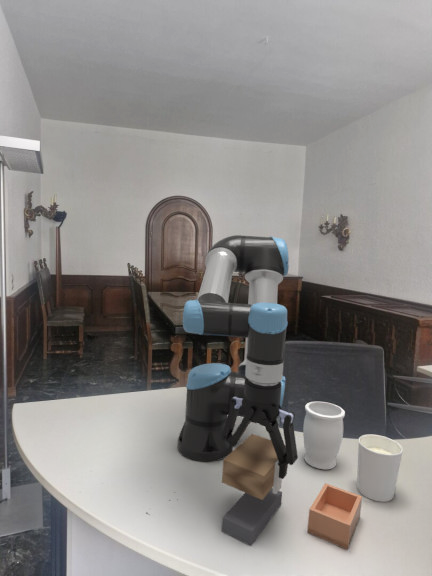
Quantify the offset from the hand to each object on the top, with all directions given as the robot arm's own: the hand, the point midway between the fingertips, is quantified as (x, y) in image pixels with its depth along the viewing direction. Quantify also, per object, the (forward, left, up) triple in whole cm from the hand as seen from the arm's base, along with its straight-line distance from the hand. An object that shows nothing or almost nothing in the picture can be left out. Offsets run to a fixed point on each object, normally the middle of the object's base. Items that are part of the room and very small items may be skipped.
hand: (255, 481), depth 84 cm
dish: (+15, +7, -8) cm, 19 cm away
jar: (+5, +30, -8) cm, 32 cm away
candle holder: (+20, +25, -8) cm, 33 cm away
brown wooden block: (0, 0, +1) cm, 1 cm away
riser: (0, -1, -8) cm, 8 cm away
